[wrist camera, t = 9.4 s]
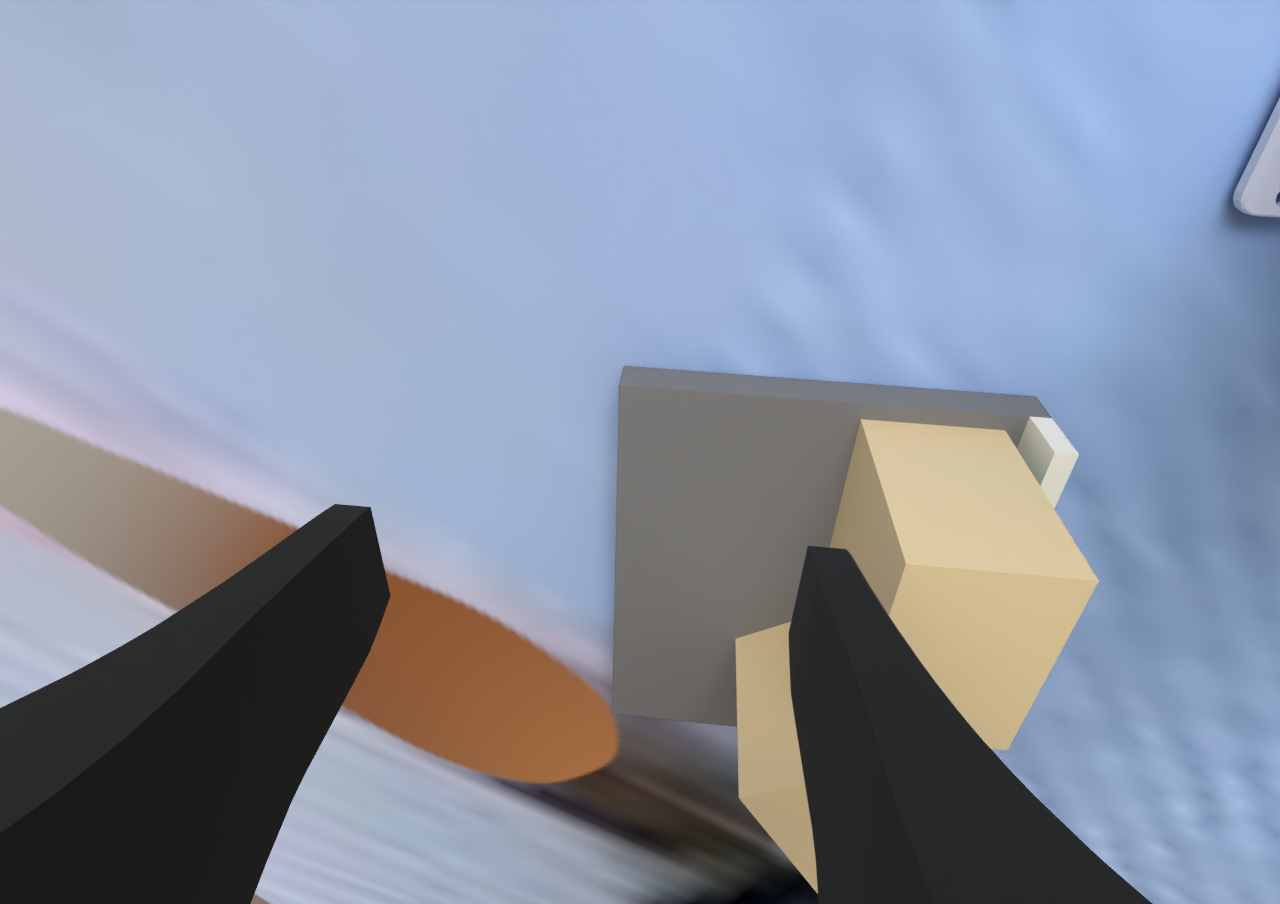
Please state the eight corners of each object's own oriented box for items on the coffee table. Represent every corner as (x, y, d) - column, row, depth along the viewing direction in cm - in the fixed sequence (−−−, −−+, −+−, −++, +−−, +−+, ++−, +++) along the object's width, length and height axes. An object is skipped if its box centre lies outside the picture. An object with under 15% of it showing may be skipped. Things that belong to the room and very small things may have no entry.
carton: (902, 709, 27) (942, 874, 22) (801, 734, 28) (819, 895, 23) (842, 605, 24) (873, 767, 19) (735, 638, 26) (738, 797, 21)
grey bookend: (1036, 396, 21) (1079, 454, 18) (909, 718, 29) (926, 788, 27) (623, 366, 21) (611, 417, 19) (615, 688, 30) (606, 753, 27)
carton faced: (947, 585, 23) (1008, 750, 18) (823, 574, 24) (850, 734, 19) (1006, 430, 20) (1099, 581, 15) (860, 419, 20) (906, 563, 15)
